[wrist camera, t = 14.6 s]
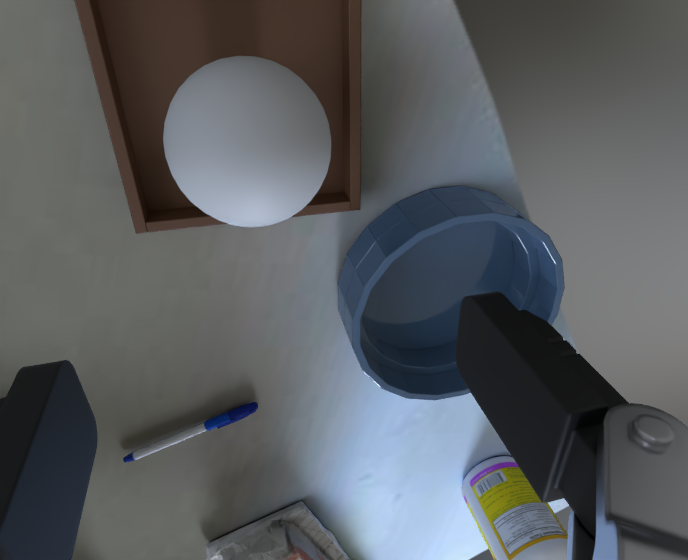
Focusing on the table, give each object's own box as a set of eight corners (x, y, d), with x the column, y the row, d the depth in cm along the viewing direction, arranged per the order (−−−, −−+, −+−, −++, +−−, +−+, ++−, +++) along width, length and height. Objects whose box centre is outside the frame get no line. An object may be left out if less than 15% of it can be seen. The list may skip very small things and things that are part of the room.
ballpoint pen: (253, 396, 36) (254, 406, 36) (259, 404, 37) (260, 413, 36) (123, 453, 36) (121, 464, 36) (130, 460, 37) (128, 471, 36)
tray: (140, 217, 28) (135, 234, 26) (74, -42, 21) (62, -44, 19) (351, 196, 30) (360, 210, 28) (350, -45, 23) (361, -47, 22)
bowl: (338, 371, 37) (353, 415, 33) (334, 196, 30) (351, 228, 26) (509, 342, 40) (540, 381, 36) (543, 175, 32) (587, 201, 28)
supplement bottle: (505, 496, 51) (582, 632, 41) (449, 499, 49) (515, 643, 39) (532, 451, 48) (623, 586, 38) (473, 452, 46) (552, 596, 36)
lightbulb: (190, 13, 23) (177, 39, 14) (315, 60, 25) (374, 108, 16) (166, 141, 25) (140, 234, 16) (280, 172, 28) (314, 270, 18)
